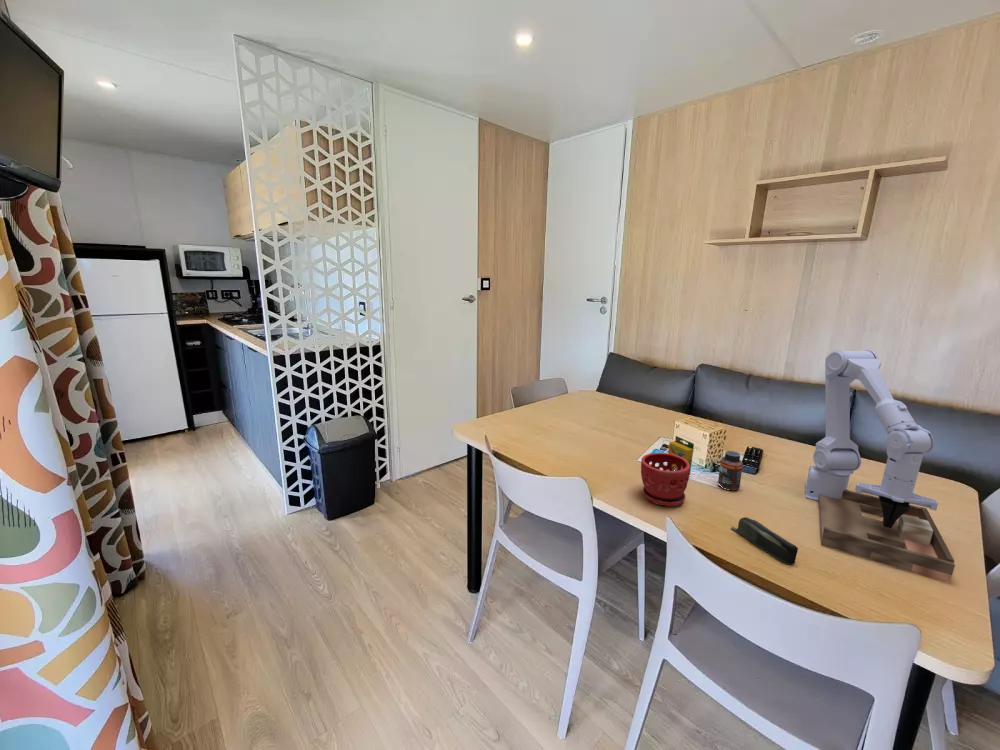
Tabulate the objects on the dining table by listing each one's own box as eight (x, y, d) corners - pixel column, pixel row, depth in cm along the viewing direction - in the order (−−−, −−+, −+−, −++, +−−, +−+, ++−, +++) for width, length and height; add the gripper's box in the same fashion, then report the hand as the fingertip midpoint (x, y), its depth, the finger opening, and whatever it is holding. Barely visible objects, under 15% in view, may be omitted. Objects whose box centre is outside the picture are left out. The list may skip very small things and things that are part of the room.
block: (900, 538, 100) (904, 523, 99) (896, 528, 104) (900, 514, 103) (928, 545, 98) (933, 530, 97) (924, 535, 101) (928, 520, 101)
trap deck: (821, 544, 101) (824, 526, 100) (817, 497, 122) (820, 482, 121) (949, 583, 88) (955, 563, 87) (920, 523, 110) (925, 506, 109)
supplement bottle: (739, 485, 129) (744, 451, 126) (739, 493, 124) (744, 459, 121) (718, 480, 132) (722, 447, 129) (716, 488, 127) (721, 454, 124)
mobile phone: (801, 545, 93) (740, 510, 107) (792, 549, 92) (732, 512, 105) (796, 564, 95) (736, 527, 108) (788, 568, 93) (728, 529, 107)
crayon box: (665, 468, 140) (669, 436, 137) (671, 467, 141) (675, 435, 138) (684, 478, 134) (688, 444, 131) (690, 476, 135) (694, 443, 132)
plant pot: (663, 484, 130) (667, 448, 127) (696, 505, 118) (701, 466, 115) (629, 491, 125) (632, 455, 122) (659, 514, 113) (664, 474, 110)
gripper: (862, 474, 101) (851, 523, 104) (947, 491, 93) (931, 544, 96) (859, 463, 107) (848, 510, 110) (938, 479, 99) (924, 529, 102)
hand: (887, 525), depth 103 cm, fingers closed
